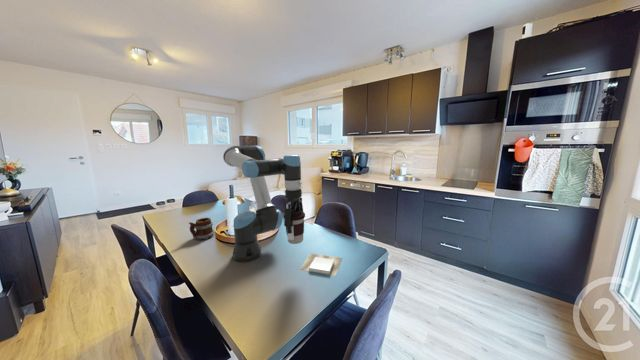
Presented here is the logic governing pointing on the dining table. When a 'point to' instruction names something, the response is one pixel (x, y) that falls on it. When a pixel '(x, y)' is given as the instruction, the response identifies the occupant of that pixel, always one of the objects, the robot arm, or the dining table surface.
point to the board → (311, 257)
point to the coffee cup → (297, 226)
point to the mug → (202, 228)
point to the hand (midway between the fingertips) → (295, 235)
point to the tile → (321, 265)
